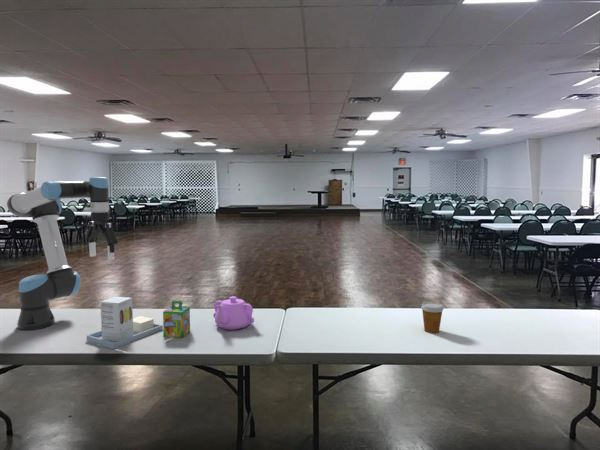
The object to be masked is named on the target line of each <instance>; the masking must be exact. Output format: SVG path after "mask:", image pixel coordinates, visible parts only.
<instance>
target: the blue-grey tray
mask: <svg viewBox="0 0 600 450" xmlns="http://www.w3.org/2000/svg"><path fill="white" fill-rule="evenodd" d="M161 331H163V324H159V323H155V322H154V328H152V329H150V330H147V331H144V332H141V333H139V332H135V331H133V334H134V335H132V336H130V337H128V338H125V339H122V340H120V341H117V342H116V341H107V340H103V339H102V329H101V330H99V331H95V332H93V333H90V334H87V335H86V342H87V343H88V342H89V343H91V344H94V345H98V346H100V347H104V348H107V349H111V350H116V349H117V348H119V347H122V346H124V345H126V344H128V343H131V342H134V341H137V340H139V339H142V338H145V337H147V336H149V335H152V334H154V333H157V332H161Z"/></svg>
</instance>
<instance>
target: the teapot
mask: <svg viewBox="0 0 600 450" xmlns="http://www.w3.org/2000/svg"><path fill="white" fill-rule="evenodd" d="M253 312H254V310H253V306H252V305H251V304H250V303H246V301H245V300H244V299H242V298H238V296H229V298H228V299H225V300H221V299H220V300H217V301H215V303H214V313H213V318H214V323H215V324H216V325H217V327H219V328H220V329H222V330H230V331H231V330H235V329H236V330H241V329H243V328H246V327H248V326H249V324H254V322H255V318H254V317H253Z"/></svg>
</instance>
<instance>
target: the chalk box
mask: <svg viewBox="0 0 600 450" xmlns="http://www.w3.org/2000/svg"><path fill="white" fill-rule="evenodd" d="M176 304H178V305H176ZM190 308H191V307H190V306H183V301H182V300H172V301H171V306H169V307H167V308H166V309H165V310H163V311H162V312H163V313H162V319H163V320H162V325H163V330H162V331H163V332H162V333H163V335H162V336H163V337H172V338H180V339H182V338H184V337H185V336H187V335H188V334H189V332H190V331H191V314H190V313H191V309H190Z"/></svg>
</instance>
